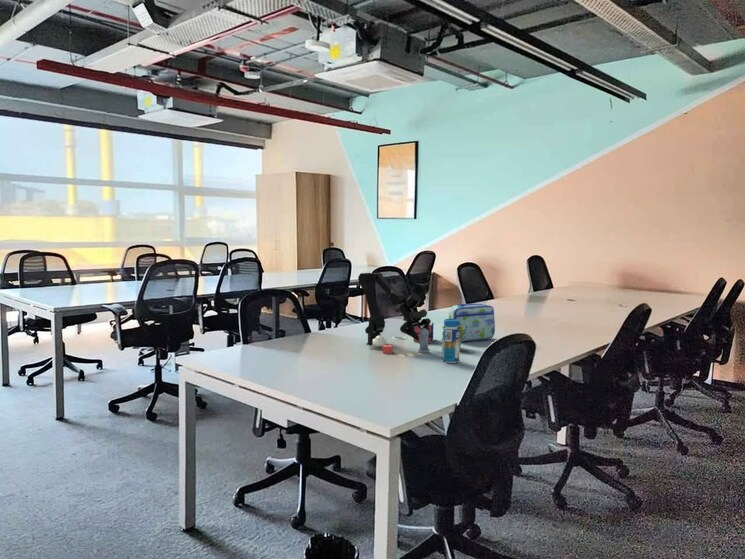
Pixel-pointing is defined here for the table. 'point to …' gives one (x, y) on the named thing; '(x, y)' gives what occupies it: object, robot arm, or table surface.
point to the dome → (379, 341)
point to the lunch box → (474, 321)
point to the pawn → (423, 341)
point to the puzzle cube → (429, 330)
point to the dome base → (376, 348)
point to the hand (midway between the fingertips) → (424, 338)
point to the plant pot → (459, 332)
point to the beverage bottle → (450, 341)
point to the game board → (412, 354)
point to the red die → (387, 349)
